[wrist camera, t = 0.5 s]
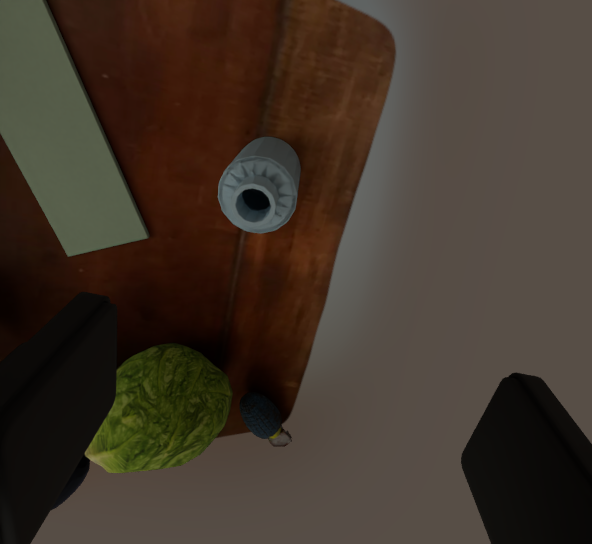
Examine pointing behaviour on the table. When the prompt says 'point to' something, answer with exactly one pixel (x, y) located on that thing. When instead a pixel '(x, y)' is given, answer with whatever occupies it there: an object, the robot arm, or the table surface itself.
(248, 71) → the table surface
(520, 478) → the robot arm
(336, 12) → the table surface
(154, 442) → the lettuce
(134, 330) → the table surface
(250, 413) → the hand grenade
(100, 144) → the mat
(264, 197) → the bottle
